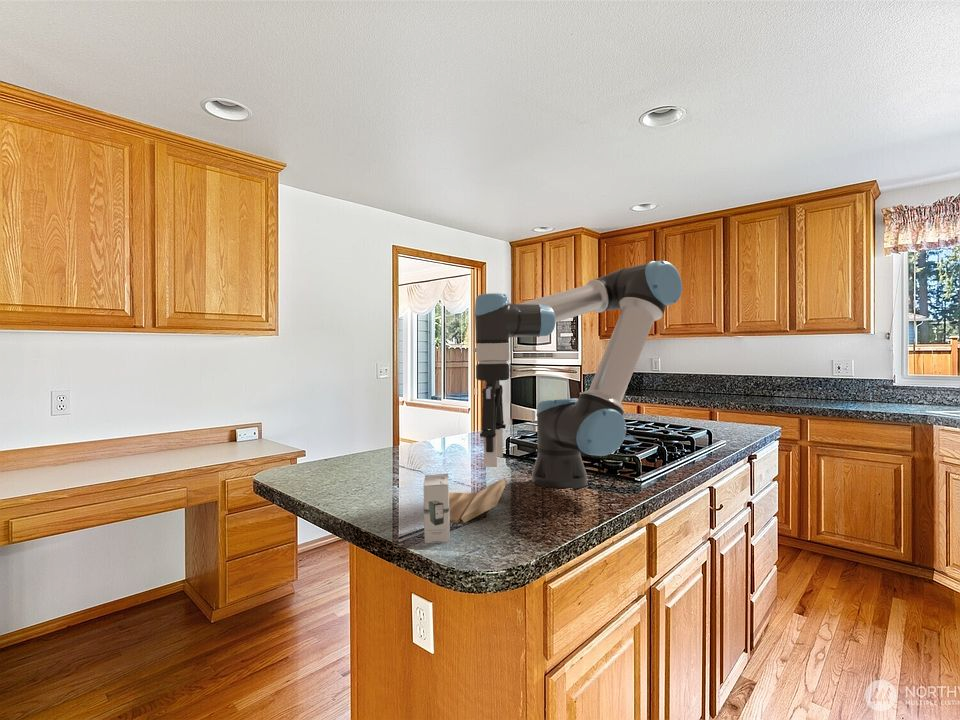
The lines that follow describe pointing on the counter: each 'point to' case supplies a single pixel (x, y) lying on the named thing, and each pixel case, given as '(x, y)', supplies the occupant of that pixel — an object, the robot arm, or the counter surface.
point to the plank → (484, 500)
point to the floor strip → (459, 505)
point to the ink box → (436, 509)
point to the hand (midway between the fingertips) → (493, 461)
